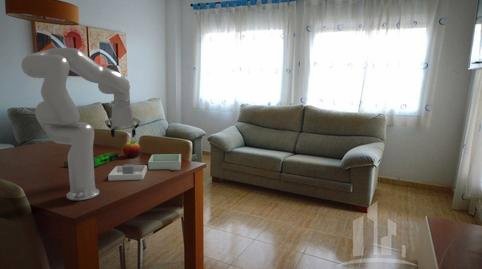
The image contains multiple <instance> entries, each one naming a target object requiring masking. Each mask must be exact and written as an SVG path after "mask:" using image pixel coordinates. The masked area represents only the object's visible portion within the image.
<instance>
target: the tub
mask: <svg viewBox="0 0 482 269" xmlns="http://www.w3.org/2000/svg"><path fill="white" fill-rule="evenodd" d="M123 166H124V165H116V166H115V167H114V168H113V169H112V170H111V171H110V172H109V174H107V177H108V181H134V180H135V181H137V180H143V179H144V178H145V176H146V174H147V171H148V164H147V165H145V164H144V165H134V166H135V174H123V171H122V167H123Z"/></svg>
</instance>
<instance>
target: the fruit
mask: <svg viewBox="0 0 482 269" xmlns="http://www.w3.org/2000/svg"><path fill="white" fill-rule="evenodd" d="M122 150H123V155H124V156H125V157H127V158H137V157H139V155H140V154H141V151H142V148H141V145H140V144H139V143H138V140H132V141H130V142H126V143H125V144H124V146H123V149H122Z"/></svg>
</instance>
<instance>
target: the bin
mask: <svg viewBox="0 0 482 269" xmlns="http://www.w3.org/2000/svg"><path fill="white" fill-rule="evenodd" d="M181 163H182V154H181V153H178V154H177V153H172V154H171V153H170V154H169V153H167V154H151V156H150V158H149V159H148V162H147V170H169V171H180V170H181V165H182V164H181Z"/></svg>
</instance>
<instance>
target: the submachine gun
mask: <svg viewBox="0 0 482 269" xmlns="http://www.w3.org/2000/svg"><path fill="white" fill-rule="evenodd" d="M119 155H120V152H106V153H104V154H102V155H93V161H94V168H96V167H98V166H101V165H103V164H106V163H108V162H112V161H117V160H119V159H120V156H119ZM63 167H64V168H65V167H66V168H69V167H68V161H63Z"/></svg>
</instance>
